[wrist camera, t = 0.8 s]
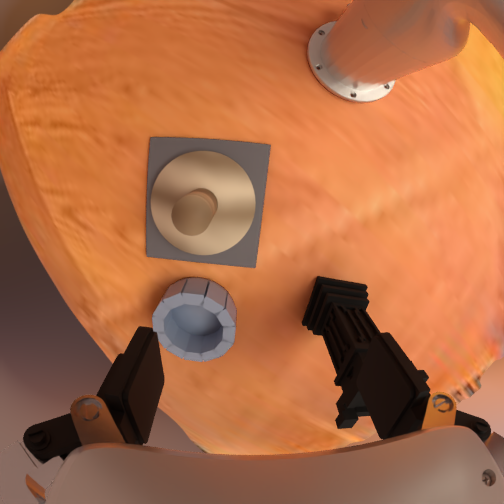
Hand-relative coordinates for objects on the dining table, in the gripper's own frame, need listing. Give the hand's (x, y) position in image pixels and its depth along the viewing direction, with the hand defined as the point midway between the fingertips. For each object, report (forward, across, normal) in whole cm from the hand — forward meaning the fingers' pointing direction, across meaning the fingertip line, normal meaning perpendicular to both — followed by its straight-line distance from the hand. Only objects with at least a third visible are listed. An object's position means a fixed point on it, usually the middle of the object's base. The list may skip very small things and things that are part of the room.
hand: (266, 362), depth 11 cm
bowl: (+26, +7, +13) cm, 30 cm away
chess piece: (+26, -13, +11) cm, 31 cm away
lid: (+25, +6, -2) cm, 26 cm away
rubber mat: (+26, +6, -3) cm, 27 cm away
